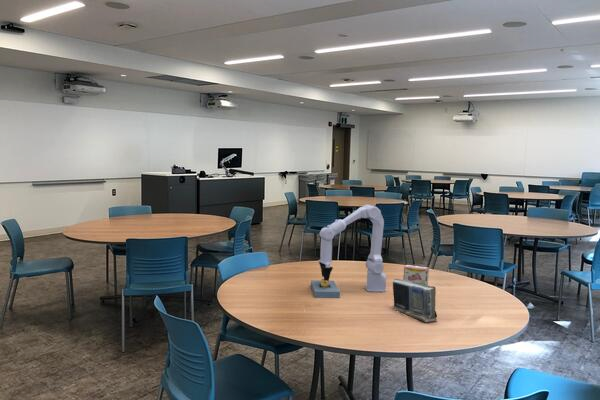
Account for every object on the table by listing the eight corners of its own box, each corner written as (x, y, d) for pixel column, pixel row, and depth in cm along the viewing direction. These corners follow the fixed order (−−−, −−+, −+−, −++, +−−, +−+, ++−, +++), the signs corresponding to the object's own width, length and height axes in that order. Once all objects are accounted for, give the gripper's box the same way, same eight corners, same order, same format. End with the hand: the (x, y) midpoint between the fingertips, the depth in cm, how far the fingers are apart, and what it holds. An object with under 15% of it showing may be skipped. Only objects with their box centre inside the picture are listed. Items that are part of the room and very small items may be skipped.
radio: (388, 306, 209) (390, 275, 208) (404, 305, 213) (406, 273, 211) (421, 324, 188) (423, 289, 187) (438, 322, 191) (440, 287, 190)
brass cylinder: (328, 290, 232) (328, 279, 231) (329, 292, 228) (329, 281, 227) (320, 290, 231) (320, 278, 231) (321, 292, 227) (321, 281, 227)
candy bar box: (401, 299, 220) (403, 266, 219) (404, 296, 225) (405, 264, 223) (425, 303, 216) (427, 269, 214) (427, 300, 220) (429, 267, 219)
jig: (333, 286, 240) (333, 280, 240) (339, 297, 220) (340, 291, 220) (310, 285, 239) (310, 280, 239) (315, 297, 219) (315, 291, 219)
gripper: (316, 248, 234) (315, 274, 236) (320, 254, 220) (319, 282, 221) (330, 248, 235) (329, 274, 236) (334, 254, 221) (333, 282, 222)
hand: (325, 278), depth 229 cm, fingers open, 7 cm apart
